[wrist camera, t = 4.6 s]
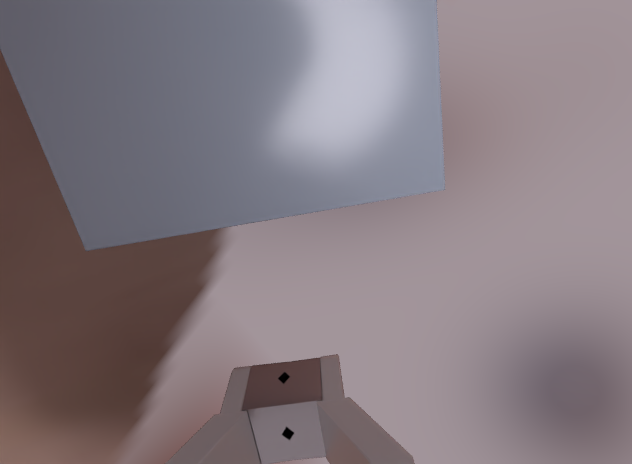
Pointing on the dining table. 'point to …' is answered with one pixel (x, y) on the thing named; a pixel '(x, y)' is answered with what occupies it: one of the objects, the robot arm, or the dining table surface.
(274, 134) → the slab
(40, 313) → the dining table surface
